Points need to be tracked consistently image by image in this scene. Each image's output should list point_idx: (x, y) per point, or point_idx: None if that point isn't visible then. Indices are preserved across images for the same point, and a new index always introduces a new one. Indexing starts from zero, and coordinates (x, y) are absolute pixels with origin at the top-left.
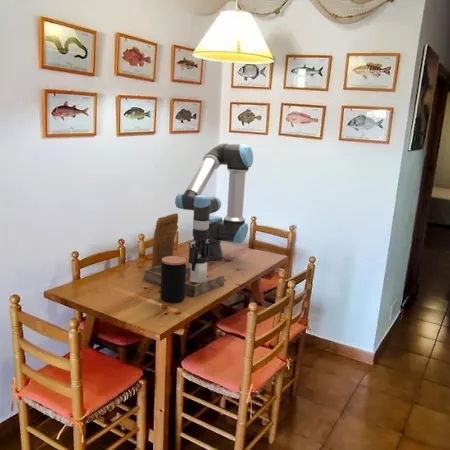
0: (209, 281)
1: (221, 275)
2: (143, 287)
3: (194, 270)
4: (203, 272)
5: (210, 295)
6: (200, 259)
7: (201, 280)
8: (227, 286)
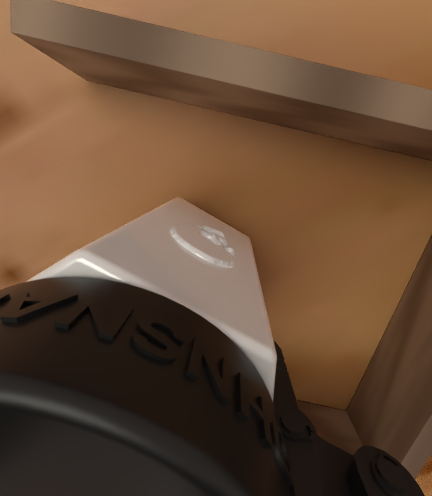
0: (336, 71)
1: (47, 30)
2: (427, 477)
3: None
4: (202, 235)
5: (400, 34)
6: (252, 463)
7: (223, 226)
8: (93, 6)
